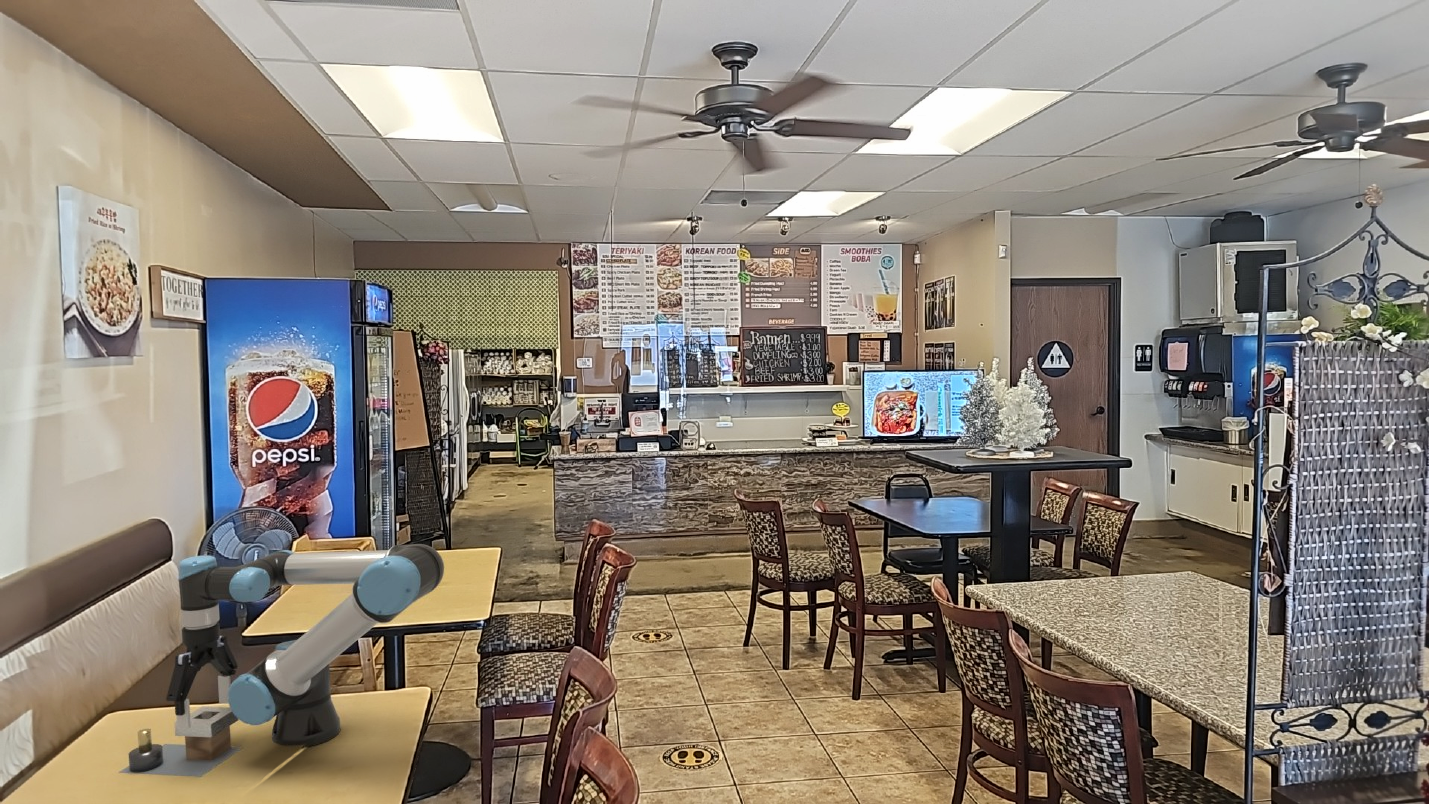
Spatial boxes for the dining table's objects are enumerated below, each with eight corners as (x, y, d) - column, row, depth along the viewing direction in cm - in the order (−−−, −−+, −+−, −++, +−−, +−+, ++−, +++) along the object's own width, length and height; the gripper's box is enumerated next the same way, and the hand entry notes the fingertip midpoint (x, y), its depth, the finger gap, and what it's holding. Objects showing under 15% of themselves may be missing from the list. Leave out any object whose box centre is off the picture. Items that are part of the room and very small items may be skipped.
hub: (170, 759, 202) (167, 725, 201) (148, 773, 195) (146, 738, 195) (144, 758, 203) (142, 724, 202) (122, 771, 196) (119, 736, 196)
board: (243, 751, 207) (242, 747, 207) (200, 781, 193) (200, 776, 193) (165, 747, 210) (165, 743, 210) (118, 776, 196) (118, 772, 196)
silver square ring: (238, 720, 208) (237, 707, 208) (211, 737, 199) (210, 724, 199) (203, 718, 209) (202, 706, 209) (175, 735, 200) (174, 722, 200)
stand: (231, 747, 207) (228, 707, 207) (212, 760, 201) (209, 719, 200) (206, 746, 208) (203, 706, 208) (186, 759, 202) (183, 718, 201)
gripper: (222, 607, 215) (227, 692, 217) (143, 642, 191) (149, 738, 192) (251, 608, 214) (255, 694, 216) (175, 643, 190) (180, 740, 191)
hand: (205, 715), depth 204 cm, fingers open, 13 cm apart
